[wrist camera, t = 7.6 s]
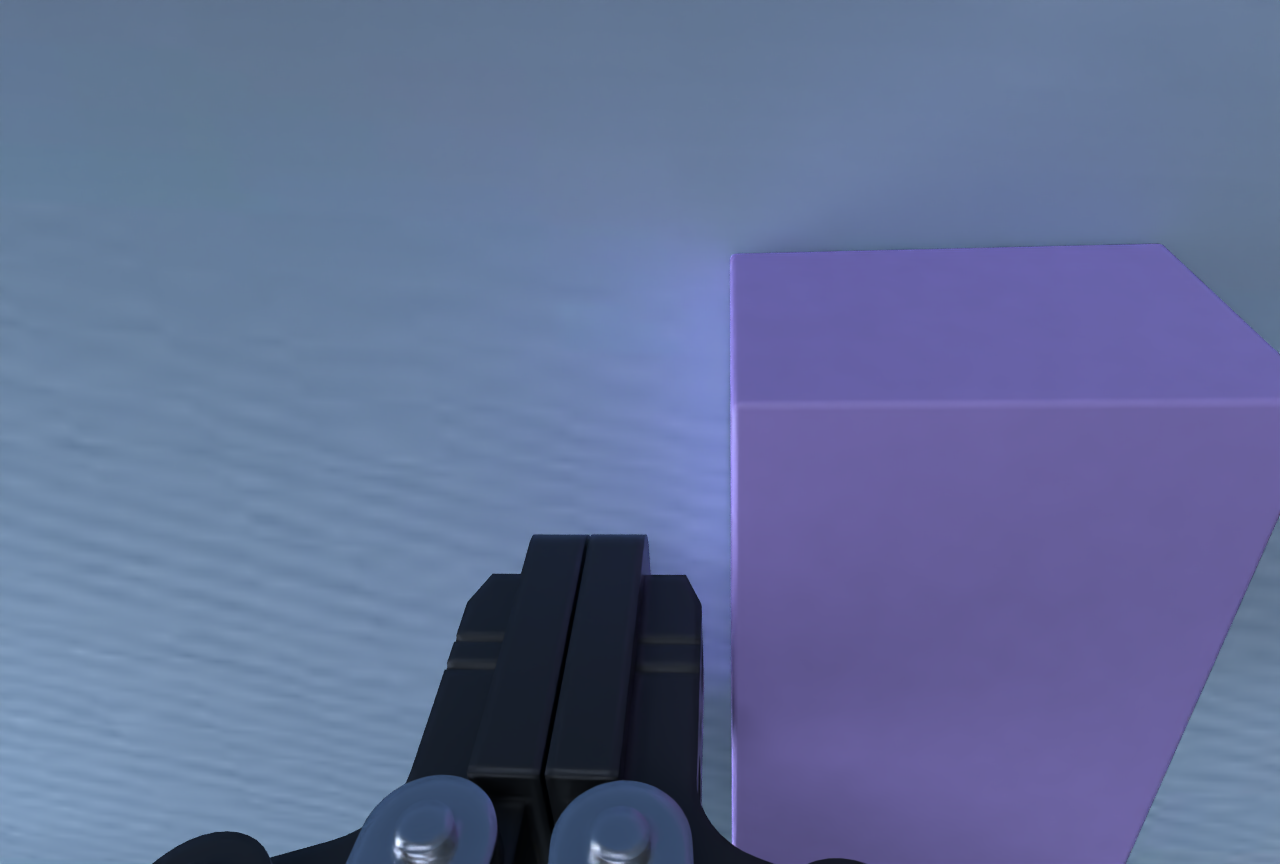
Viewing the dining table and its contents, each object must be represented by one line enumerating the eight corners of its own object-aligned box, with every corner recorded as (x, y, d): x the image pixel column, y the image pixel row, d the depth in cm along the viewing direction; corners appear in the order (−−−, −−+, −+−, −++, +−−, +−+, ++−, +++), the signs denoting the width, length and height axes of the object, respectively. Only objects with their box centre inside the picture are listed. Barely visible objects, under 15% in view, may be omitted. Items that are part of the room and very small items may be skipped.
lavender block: (730, 251, 11) (731, 403, 8) (1163, 241, 10) (1334, 400, 7) (731, 689, 15) (731, 891, 12) (1033, 697, 15) (1108, 909, 12)
